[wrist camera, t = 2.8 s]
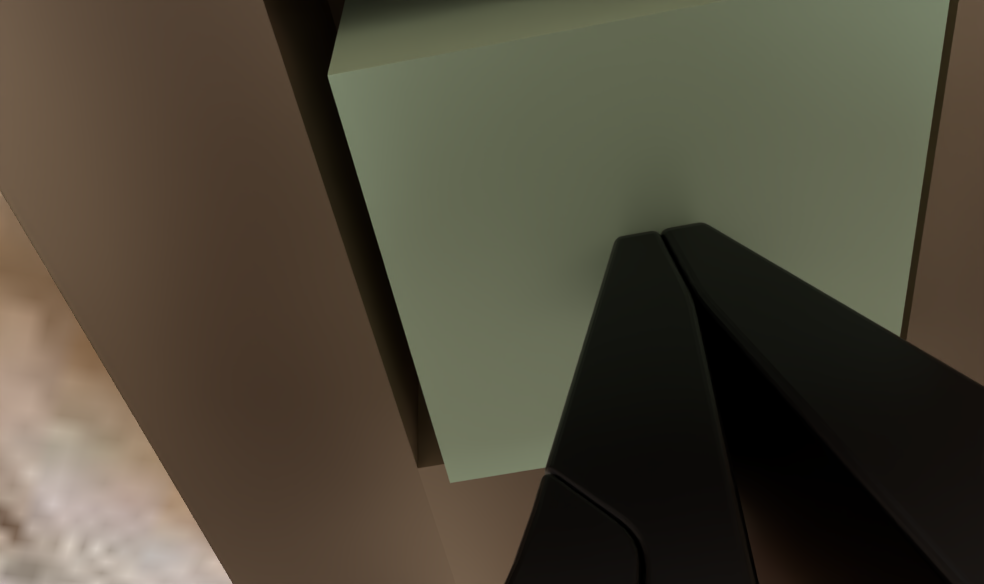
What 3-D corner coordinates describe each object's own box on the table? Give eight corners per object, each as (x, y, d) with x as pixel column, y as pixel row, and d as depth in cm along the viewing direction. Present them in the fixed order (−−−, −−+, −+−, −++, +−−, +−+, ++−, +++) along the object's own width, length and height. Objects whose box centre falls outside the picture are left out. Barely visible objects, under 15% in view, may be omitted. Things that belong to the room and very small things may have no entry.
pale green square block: (815, -123, 9) (956, -44, 7) (795, 260, 12) (888, 411, 10) (352, -33, 9) (328, 75, 7) (445, 320, 12) (450, 482, 10)
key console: (1110, -489, 9) (1499, -570, 6) (866, 767, 25) (929, 928, 22) (-8, -249, 9) (-230, -199, 6) (466, 824, 26) (472, 988, 23)
